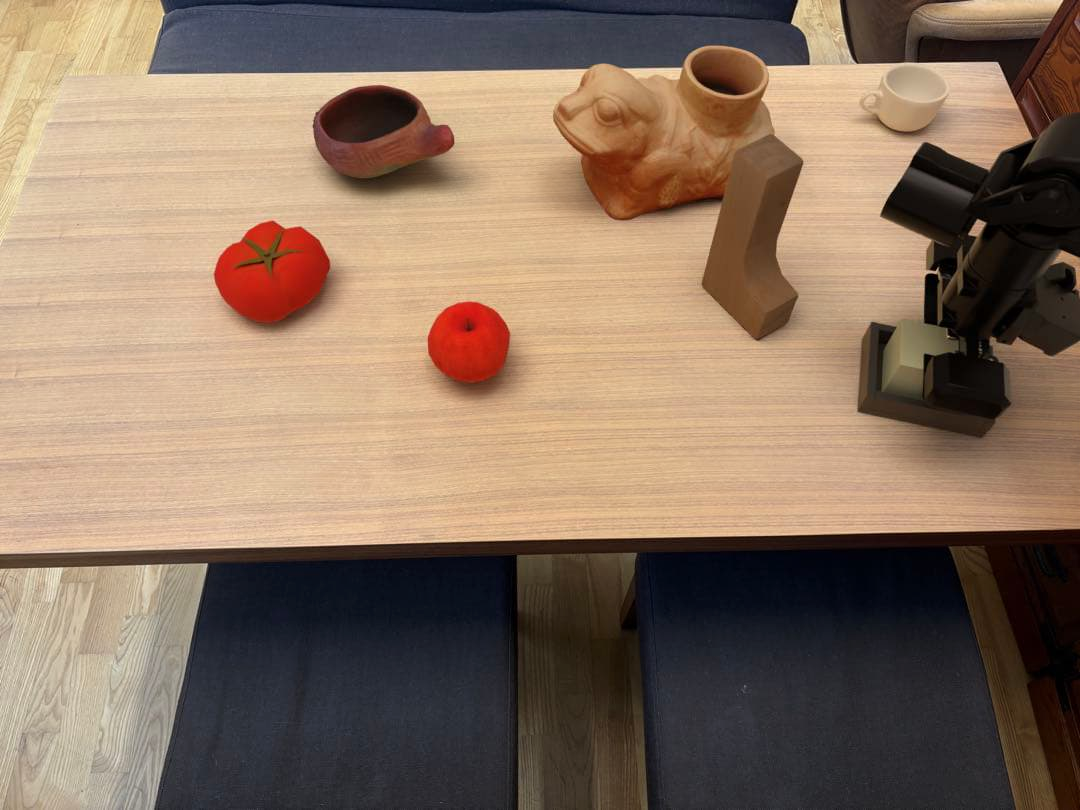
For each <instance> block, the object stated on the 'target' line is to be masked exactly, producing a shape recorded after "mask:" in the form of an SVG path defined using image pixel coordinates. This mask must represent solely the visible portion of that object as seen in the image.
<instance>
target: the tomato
mask: <svg viewBox="0 0 1080 810" xmlns="http://www.w3.org/2000/svg"><path fill="white" fill-rule="evenodd" d="M330 270H331V259H330V258H329V255H328V254H327V252H326V249H325V248H324V246H323V244H322V242H321V241H320V239H318V237H316V236H314V235H313V234H312V233H311V232H309V231H308V230H306V229H305V228H304V227H303V226H302V225H299V226H293V227H289V228H288V227H287V228H285V227H284V226H282V225H281V224H280V223H278V222H276V221H274V220H272V219H271V220H268V221H264V222H263V221H262V222H260V223H258V224H256V225H255V226H253V227H251V228H250V229H248V230H247V231H246V233H244V235H243V237H242V236H241V239H240V241H238V242H233V243H232V244H230V245H229V246H228V247H226V248H225V249H224V251H223V252H222V253H220V255H219V257H218V259H217V261H216V264H215V268H214V272H213V278H214V283H215V285H216V288H217V290H218V292H219V295H220V296H221V297H222V299H223V300H224V301H225V303H226V304H227V305H228V306H230V307H231V308H232V309H233V310H234V311H236V313H238V314H239V315H241V316H243V317H245V318H247V319H250V320H253V321H255V322H258V323H275V322H277V321H280V320H283V319H285V318H286V317H287V316H289V315H290V314H291V313H292V312H295V311H298V310H301V309H303V308H304V307H305V306H306V305H308V304H309V303H311V302H312V301H313V300H314V298H316V297H317V295H319V294H320V293H321V290H322V289H323V286H324V284H325V281H326V278H327V277H328V274H329V272H330Z"/></svg>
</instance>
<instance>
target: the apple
mask: <svg viewBox="0 0 1080 810" xmlns="http://www.w3.org/2000/svg"><path fill="white" fill-rule="evenodd" d="M428 332H429V333H428V335H427V351H428V355H429V358H430V359H431V361H432V363H433V365H434V366H435V367H436V368H437V369H438V370H439V371H440V372H441V373H442V374H444V375H445V376H446V377H448V378H450V379H452V380H454V381H458V382H461V383H462V382H463V383H477V382H482V381H484V380H487V379H490V378H492V377H493V376H495V375H496V374H498V372H500V370H501V369H502V368H503V367H504V365H505V364H506V361H507V357H508V353H509V350H510V343H511V342H510V341H511V332H510V329H509V327H508V324H507V323H506V322H505V320H504V318H503V317H502V316H501V315H500V313H499V312H497V311H496V310H495V309H494V308H493V307H490V306H488V305H485V304H483V303H481V302H478V301H470V300H469V301H462V302H457V303H453V304H452V305H450V306H447V307H446V308H445V309H443V311H441V312H440V313H439V314H438V315H437V316H436V318H435V320H434V321H433V323H432V325H431V326H430V330H429V331H428Z"/></svg>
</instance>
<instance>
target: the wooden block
mask: <svg viewBox="0 0 1080 810" xmlns="http://www.w3.org/2000/svg"><path fill="white" fill-rule="evenodd" d="M804 162H805V161H804V159H803V158H802V157H801V156H799V154H798V153H796V152H795V151H794V150H793V149H791V148H790V147H789V146H788V145H786V144H785V142H783V141H781V139H779V138H778V137H777V136H776V135H775V136H774V135H772V134H769V135H767V136H765V137H763V138H761V139H759V140H757V141H755V142H753V143H750V144H748V145H746V146H744V147H742V148H740V149H738V150H737V151H736V152H735V154H734V158H733V162H732V166H731V169H730V173H729V177H728V181H727V185H726V189H725V193H724V197H723V199H722V200H721V205H720V209H719V212H718V217H717V221H716V224H715V229H714V232H713V236H712V240H711V244H710V248H709V253H708V257H707V260H706V264H705V268H704V272H703V276H702V280H701V286H702V287H703V288H704V289H705V290H706V291H707V292H708V293H709V294H710V295H711V296H712V297H713V298H714V300H716V301H717V302H718V303H719V304H720V305H721V306H722V307H723V308H724V309H725V310H726V311H727V313H729V314H730V315H731V316H732V317H733V318H734V319H735V320H736V321H737V322H738V323H739V324H740V325H741V326H742V327H743V328H744V329H745V331H746V332H748V333H749V334H750V335H751V336H752V337H753V338H754V339H755V340H759V339H761V338H763V337H764V336H766V335H768V334H770V333H771V332H773V331H775V330H776V329H778V328H780V327H782V326H783V325H786V323H788V322H789V320H790V318H791V316H792V313H793V311H794V308H795V306H796V303H797V301H798V298H799V293H798V291H797V290H796V289H795V288H794V287H793V286H792V284H791V283H790V282H789V281H788V280H787V278H786V277H785V276H784V275H783V274H782V273H783V272H782V270H781V267H780V265H779V262H778V258H777V250H778V249H777V246H778V239H779V236H780V233H781V230H782V227H783V224H784V222H785V218H786V216H787V212H788V209H789V207H790V204H791V201H792V198H793V195H794V193H795V189H796V186H797V184H798V181H799V178H800V174H801V172H802V168H803V167H804Z"/></svg>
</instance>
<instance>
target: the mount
mask: <svg viewBox="0 0 1080 810" xmlns="http://www.w3.org/2000/svg"><path fill="white" fill-rule="evenodd" d="M896 328H897V326H895V325H890V324H886V323H879V322H876V321H875V322H874V321H871V322H870V323H869V325H868V326H867V329H866V331H865V333H864V334H863V336H862V338H861V348H860V349H861V350H860V351H861V352H860V362H859V363H860V367H859V381H858V394H857V395H858V396H857V410H856V411H857V412H858V413H862V414H868V415H872V416H877V417H881V418H886V419H890V420H895V421H900V422H905V423H910V424H915V425H918V426H923V427H928V428H933V429H937V430H943V431H947V432H951V433H956V434H961V435H965V436H970V437H975V438H979V439H983V438H984V437H985V436H986V435H987V433H988V432H989V431H990V430H991V429H992V428H993V427H994V425H995V424H996V422H997V419H995V420H991V419H986V418H981V417H977V416H972V415H967V414H962V413H958V412H953V411H948V410H943V409H938V408H934V407H931V406H930V405H929V404H928V403H927V402H926V401H922V400H918V399H913V398H908V397H903V396H899V395H894V394H889V393H884V392H881V389H882V368H883V350H884V349H885V347H886V345H887V343H888V342H889V340H890V338H891V336H892V335H893V333H894V331H895V330H896ZM993 346H994V345H991V344H990V353H991V354H992V355H994V347H993Z"/></svg>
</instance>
